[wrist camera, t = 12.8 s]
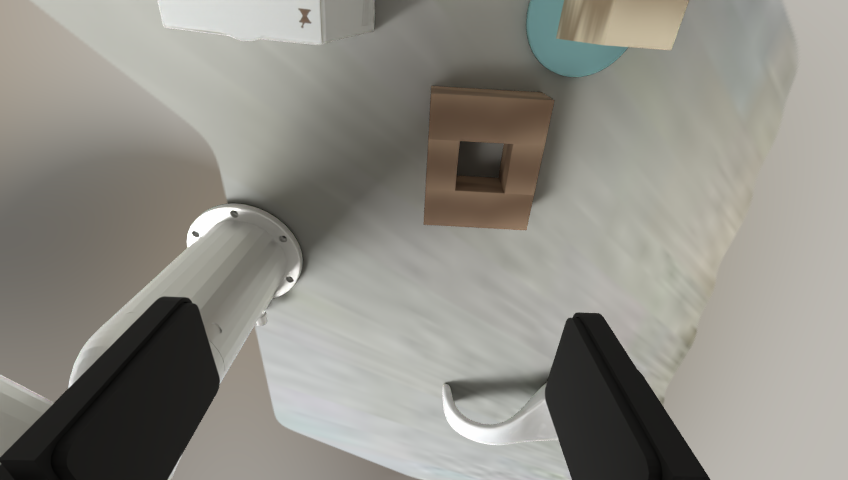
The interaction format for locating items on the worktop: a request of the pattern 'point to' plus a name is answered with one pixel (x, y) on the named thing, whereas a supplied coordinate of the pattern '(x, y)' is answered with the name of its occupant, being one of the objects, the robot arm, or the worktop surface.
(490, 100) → the walnut socket block
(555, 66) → the teal rubber pad
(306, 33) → the skincare box
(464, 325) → the worktop surface
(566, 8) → the maple peg
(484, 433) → the spoon rest
